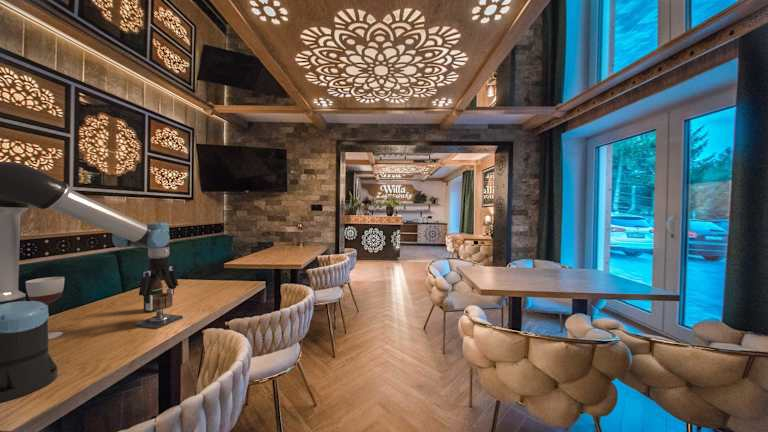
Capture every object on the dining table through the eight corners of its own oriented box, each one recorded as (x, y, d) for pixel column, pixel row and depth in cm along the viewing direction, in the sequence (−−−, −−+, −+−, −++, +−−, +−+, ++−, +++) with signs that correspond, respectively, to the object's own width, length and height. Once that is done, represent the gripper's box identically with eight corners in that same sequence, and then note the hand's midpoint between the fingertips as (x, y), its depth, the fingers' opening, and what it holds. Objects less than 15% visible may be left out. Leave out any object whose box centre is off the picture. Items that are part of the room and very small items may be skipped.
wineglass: (23, 339, 111) (22, 280, 110) (61, 329, 120) (60, 275, 119) (30, 344, 106) (29, 283, 106) (69, 334, 115) (68, 278, 115)
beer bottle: (146, 308, 145) (145, 262, 145) (165, 306, 148) (164, 261, 148) (140, 313, 138) (140, 265, 138) (160, 311, 141) (160, 263, 141)
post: (157, 328, 121) (157, 302, 121) (135, 326, 123) (134, 300, 123) (182, 318, 133) (182, 294, 132) (161, 316, 135) (161, 293, 135)
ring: (158, 311, 123) (158, 299, 123) (141, 309, 124) (141, 298, 124) (177, 304, 131) (177, 293, 131) (161, 302, 133) (161, 292, 133)
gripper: (140, 261, 116) (142, 315, 117) (187, 253, 137) (187, 299, 138) (126, 260, 117) (127, 314, 118) (174, 252, 139) (175, 298, 139)
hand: (160, 306), depth 128 cm, fingers closed on ring, 9 cm apart
